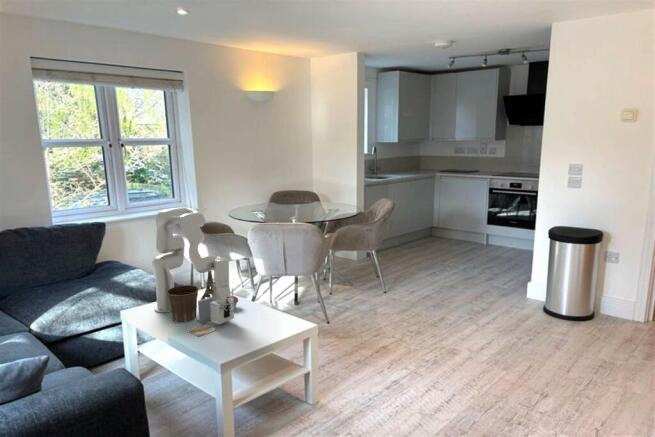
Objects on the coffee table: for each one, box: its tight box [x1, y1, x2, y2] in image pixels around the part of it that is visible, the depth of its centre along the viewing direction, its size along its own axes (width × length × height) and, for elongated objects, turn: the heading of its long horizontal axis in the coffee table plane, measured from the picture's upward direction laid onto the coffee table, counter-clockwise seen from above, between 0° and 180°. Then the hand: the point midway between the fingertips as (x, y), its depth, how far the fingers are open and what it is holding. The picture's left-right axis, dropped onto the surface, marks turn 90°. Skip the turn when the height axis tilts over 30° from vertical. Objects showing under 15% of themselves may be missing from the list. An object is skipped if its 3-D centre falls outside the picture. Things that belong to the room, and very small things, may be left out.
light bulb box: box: [210, 298, 235, 325], centre depth 235 cm, size 11×7×11 cm, turn 145°
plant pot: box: [167, 284, 200, 324], centre depth 244 cm, size 16×16×16 cm
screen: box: [197, 296, 213, 325], centre depth 243 cm, size 5×14×12 cm, turn 138°
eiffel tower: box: [198, 270, 214, 301], centre depth 275 cm, size 11×11×25 cm
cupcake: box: [231, 288, 239, 310], centre depth 259 cm, size 9×8×12 cm
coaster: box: [187, 323, 216, 338], centre depth 229 cm, size 10×10×1 cm
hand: (222, 314), depth 236 cm, fingers closed on light bulb box, 7 cm apart
